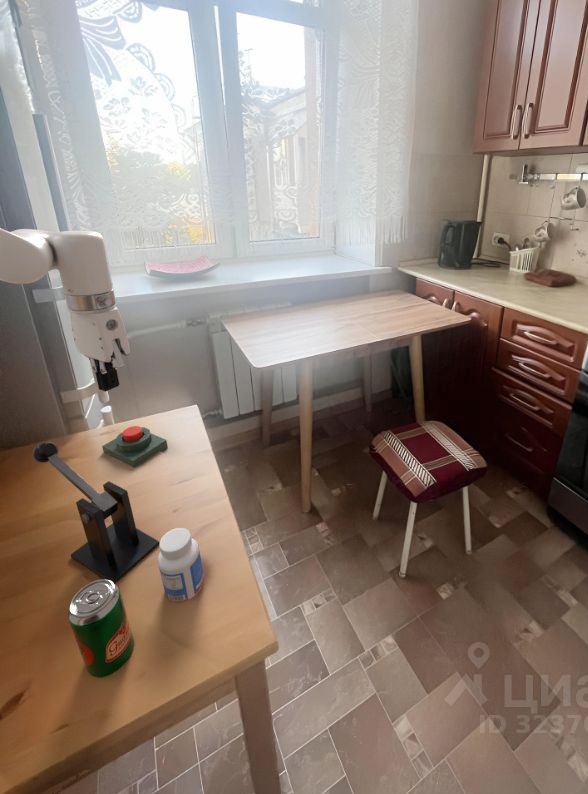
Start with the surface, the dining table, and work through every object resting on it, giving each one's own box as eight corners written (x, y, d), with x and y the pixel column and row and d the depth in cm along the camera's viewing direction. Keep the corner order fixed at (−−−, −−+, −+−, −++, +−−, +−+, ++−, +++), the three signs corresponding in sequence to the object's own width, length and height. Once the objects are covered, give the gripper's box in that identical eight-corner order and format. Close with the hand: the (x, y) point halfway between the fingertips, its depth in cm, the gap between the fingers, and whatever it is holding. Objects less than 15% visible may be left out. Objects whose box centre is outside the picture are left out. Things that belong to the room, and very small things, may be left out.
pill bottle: (195, 563, 62) (187, 516, 58) (211, 587, 58) (203, 539, 55) (159, 586, 58) (148, 537, 55) (173, 613, 55) (162, 563, 51)
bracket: (72, 560, 62) (53, 502, 57) (120, 523, 68) (106, 469, 64) (113, 588, 58) (96, 528, 53) (160, 546, 64) (148, 490, 60)
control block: (103, 454, 85) (100, 439, 83) (137, 434, 91) (134, 420, 90) (135, 469, 81) (131, 453, 79) (168, 447, 87) (165, 432, 86)
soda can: (122, 687, 47) (100, 620, 42) (79, 685, 47) (54, 619, 42) (144, 640, 51) (127, 576, 47) (105, 639, 51) (85, 575, 47)
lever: (28, 458, 62) (27, 445, 61) (50, 447, 65) (49, 434, 64) (99, 524, 58) (100, 512, 57) (120, 510, 61) (121, 497, 59)
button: (120, 439, 84) (118, 432, 83) (135, 430, 87) (134, 424, 86) (131, 444, 82) (129, 437, 82) (146, 435, 85) (145, 428, 85)
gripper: (137, 302, 73) (151, 389, 79) (87, 289, 78) (104, 371, 85) (96, 312, 66) (115, 406, 73) (45, 298, 72) (67, 386, 79)
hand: (109, 387), depth 79 cm, fingers closed
